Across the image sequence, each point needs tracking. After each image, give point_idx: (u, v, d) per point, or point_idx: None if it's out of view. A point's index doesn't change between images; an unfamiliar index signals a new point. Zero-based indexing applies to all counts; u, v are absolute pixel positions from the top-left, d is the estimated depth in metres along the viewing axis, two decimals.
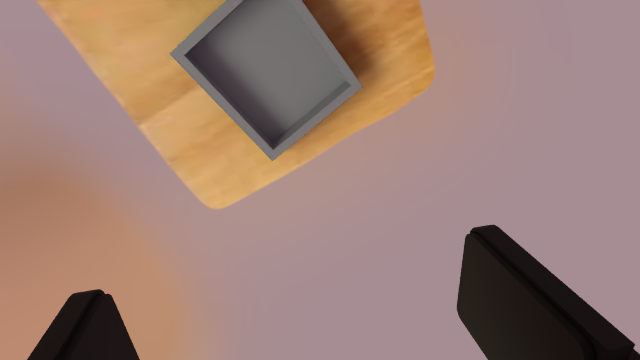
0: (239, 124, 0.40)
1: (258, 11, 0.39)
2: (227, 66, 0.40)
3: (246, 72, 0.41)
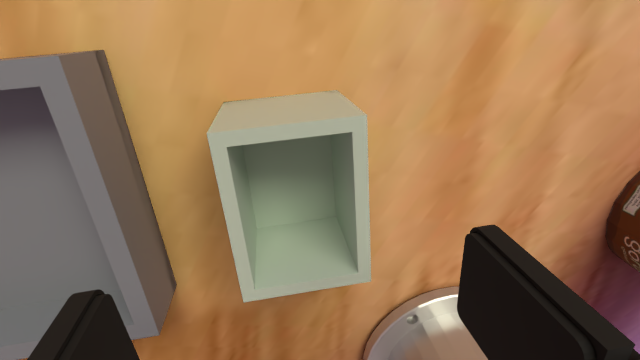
0: None
1: None
2: (11, 134, 0.16)
3: None
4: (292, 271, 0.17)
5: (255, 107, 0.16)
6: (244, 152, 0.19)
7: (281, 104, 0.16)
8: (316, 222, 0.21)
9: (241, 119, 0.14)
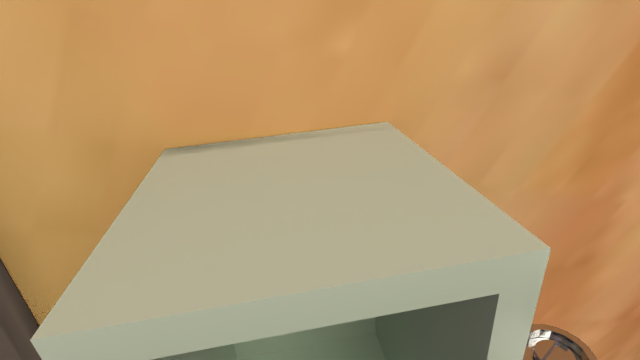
0: None
1: None
2: None
3: None
4: None
5: (224, 174, 0.07)
6: None
7: (282, 166, 0.07)
8: (342, 348, 0.12)
9: (177, 236, 0.05)
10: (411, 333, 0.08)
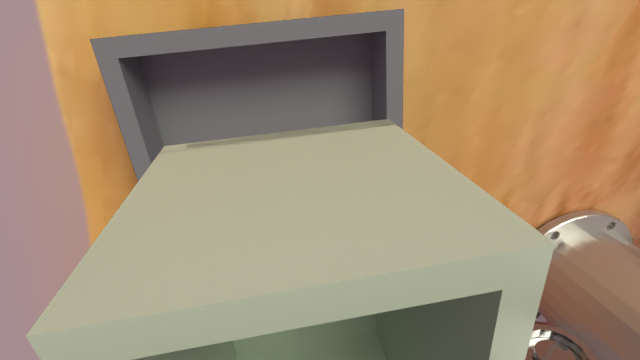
0: (213, 31, 0.18)
1: None
2: (314, 73, 0.22)
3: (288, 95, 0.23)
4: None
5: (223, 171, 0.07)
6: None
7: (283, 163, 0.07)
8: (343, 346, 0.12)
9: (175, 232, 0.05)
10: (412, 331, 0.08)
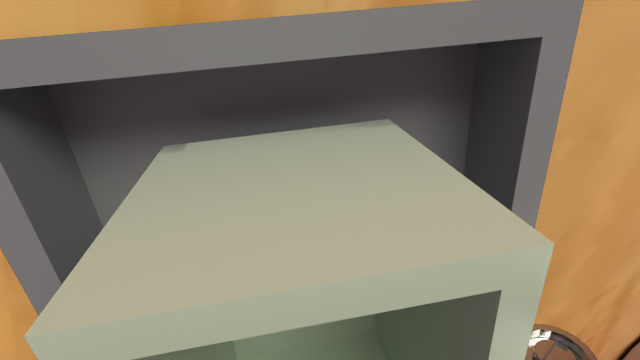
0: (184, 33, 0.08)
1: None
2: (374, 110, 0.13)
3: None
4: None
5: (223, 171, 0.07)
6: None
7: (282, 163, 0.07)
8: (342, 346, 0.12)
9: (174, 232, 0.05)
10: (412, 331, 0.08)
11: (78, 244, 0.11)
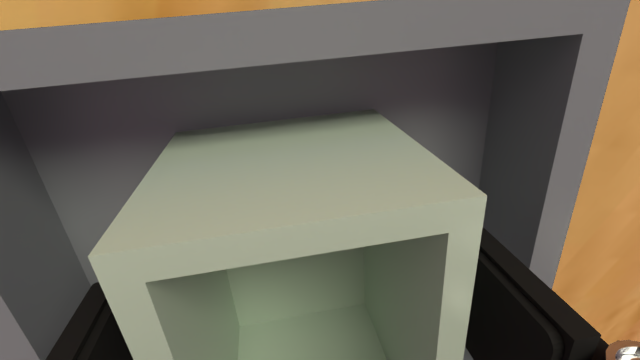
0: (155, 29, 0.06)
1: None
2: None
3: None
4: None
5: (229, 150, 0.08)
6: None
7: (279, 144, 0.09)
8: (334, 316, 0.13)
9: (192, 193, 0.06)
10: (392, 291, 0.10)
11: (41, 274, 0.10)
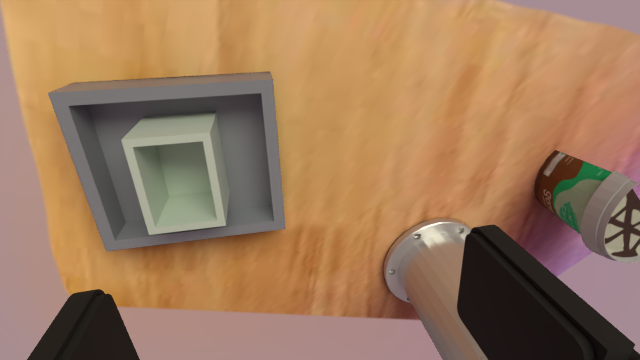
0: (136, 90, 0.26)
1: (252, 179, 0.34)
2: (220, 114, 0.31)
3: None
4: (180, 219, 0.29)
5: (159, 122, 0.28)
6: (157, 147, 0.30)
7: (174, 121, 0.28)
8: (207, 193, 0.33)
9: (145, 131, 0.26)
10: None
11: (96, 162, 0.29)
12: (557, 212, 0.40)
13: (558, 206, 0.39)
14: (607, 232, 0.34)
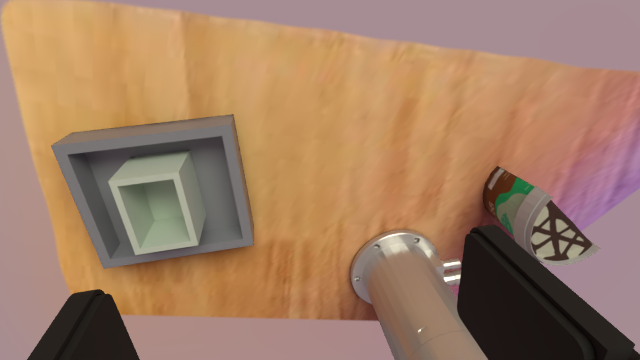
0: (120, 139, 0.32)
1: (224, 203, 0.40)
2: (192, 152, 0.37)
3: None
4: (161, 241, 0.35)
5: (140, 163, 0.34)
6: None
7: (153, 161, 0.34)
8: None
9: (128, 172, 0.32)
10: None
11: (92, 196, 0.35)
12: (500, 221, 0.44)
13: (499, 216, 0.44)
14: (536, 240, 0.39)
